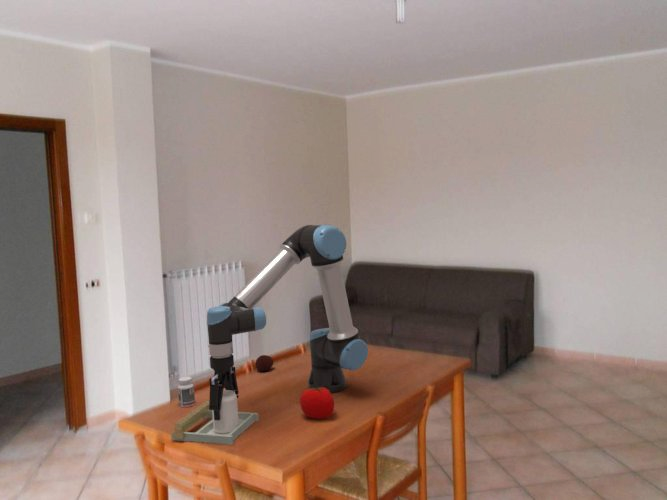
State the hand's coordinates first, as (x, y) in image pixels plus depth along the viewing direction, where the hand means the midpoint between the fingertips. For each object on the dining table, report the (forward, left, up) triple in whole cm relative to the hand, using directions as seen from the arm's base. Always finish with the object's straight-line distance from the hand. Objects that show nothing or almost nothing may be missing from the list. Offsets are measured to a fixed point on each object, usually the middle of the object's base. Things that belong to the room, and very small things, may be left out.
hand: (225, 423), depth 190 cm
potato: (+14, -65, -3) cm, 67 cm away
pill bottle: (+26, -20, -3) cm, 33 cm away
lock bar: (+11, 0, -1) cm, 11 cm away
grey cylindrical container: (0, 0, -2) cm, 2 cm away
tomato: (-26, -17, -3) cm, 31 cm away
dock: (+4, 0, -2) cm, 4 cm away
